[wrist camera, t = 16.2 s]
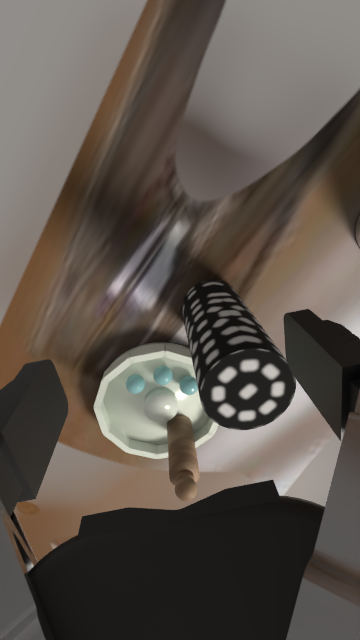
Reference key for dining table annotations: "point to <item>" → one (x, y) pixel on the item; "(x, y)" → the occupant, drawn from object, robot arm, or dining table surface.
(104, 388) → the tray
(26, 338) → the dining table surface
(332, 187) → the dining table surface
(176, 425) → the pepper mill
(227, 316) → the white-spotted black cylinder
